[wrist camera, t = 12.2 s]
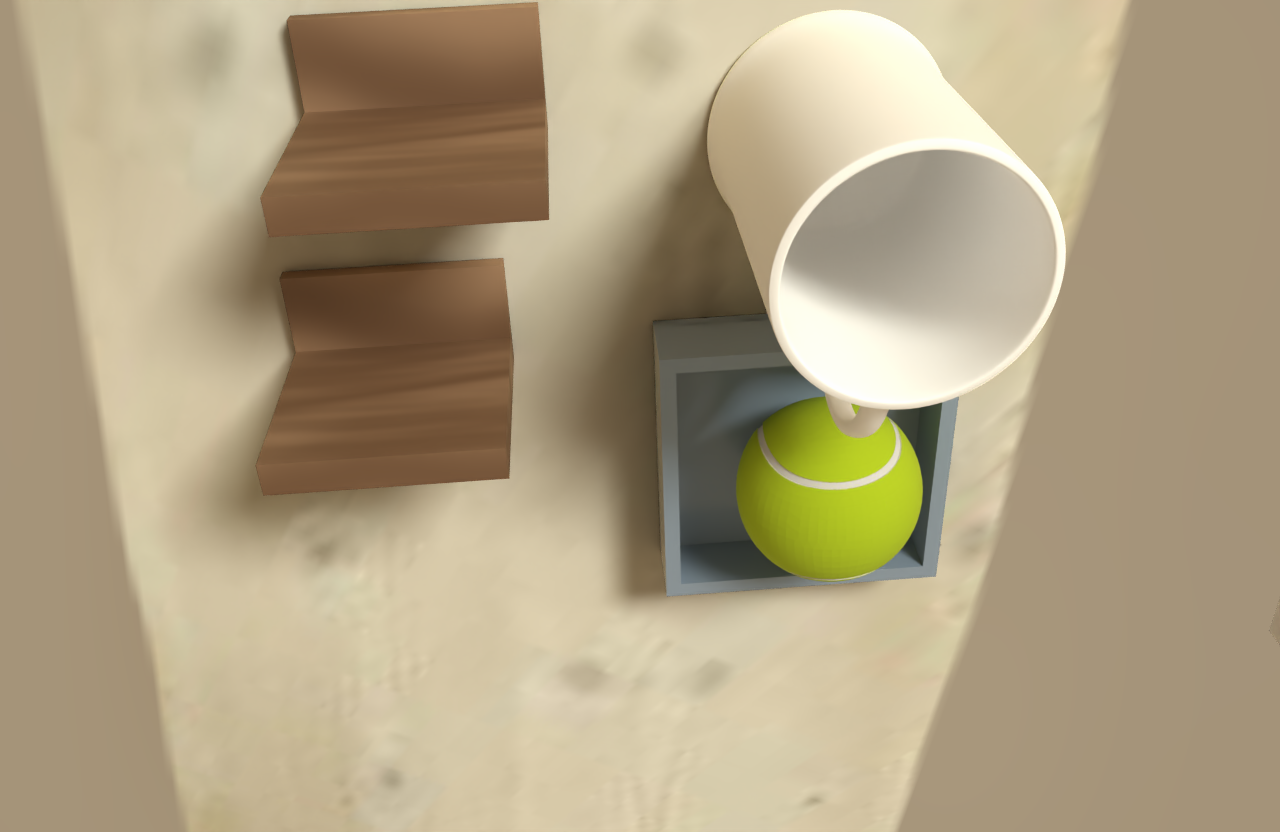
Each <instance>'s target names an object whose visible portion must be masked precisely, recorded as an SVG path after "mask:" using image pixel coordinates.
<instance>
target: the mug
mask: <svg viewBox="0 0 1280 832" xmlns="http://www.w3.org/2000/svg"><path fill="white" fill-rule="evenodd" d="M707 151H708V159H709V165H710V169H711V173H712V176H713V179H714V182H715V184H716V186H717V189H718V191H719V193H720V194H721V196H722V198H723V199H724V201H725V203H726V204H727V205H728V207H729V208H730V209H731V211H732V212H733V215H734V218H735V221H736V224H737V227H738V230H739V232H740V235H741V238H742V241H743V244H744V247H745V250H746V253H747V256H748V259H749V262H750V264H751V267H752V270H753V273H754V276H755V279H756V282H757V285H758V288H759V291H760V293H761V296H762V299H763V302H764V305H765V308H766V311H767V314H768V317H769V320H770V322H771V325H772V328H773V331H774V333H775V336H776V338H777V341H778V343H779V345H780V347H781V349H782V350H783V352H784V354H785V355H786V357H787V358H788V360H789V361H790V362H791V364H792V365H793V366H794V367H795V369H796V370H797V371H798V372H799V373H800V374H801V375H802V376H803V377H804V378H805V379H807V380H808V381H809V382H810V383H812V384H813V385H814V386H816V387H817V388H819V389H820V390H822V391H823V392H825V397H826V401H827V404H828V408H829V411H830V414H831V416H832V418H833V420H834V422H835V424H836V426H837V427H838V428H839V430H840V431H841V432H842V433H844V434H845V435H847V436H850V437H854V438H864V437H868V436H870V435H872V434H873V433H875V432H876V431H877V430H878V429H879V428H880V426H881V425H882V423H883V421H884V420H885V418H886V415H887V413H888V411H889V409H890V410H898V409H912V408H919V407H925V406H930V405H934V404H938V403H941V402H945V401H948V400H951V399H953V398H956V397H959V396H961V395H963V394H965V393H968V392H970V391H972V390H974V389H976V388H977V387H979V386H981V385H983V384H984V383H986V382H988V381H989V380H991V379H992V378H994V377H995V376H997V375H998V374H999V373H1001V372H1002V371H1003V370H1004V369H1006V368H1007V367H1008V366H1009V365H1010V364H1012V363H1013V362H1014V361H1015V360H1016V359H1017V358H1018V357H1019V356H1020V355H1021V354H1022V353H1023V352H1024V351H1025V350H1026V349H1027V347H1028V346H1029V345H1030V344H1031V343H1032V341H1033V340H1034V339H1035V337H1036V336H1037V335H1038V333H1039V332H1040V330H1041V329H1042V327H1043V326H1044V324H1045V322H1046V321H1047V319H1048V317H1049V315H1050V313H1051V311H1052V309H1053V307H1054V305H1055V302H1056V300H1057V297H1058V294H1059V291H1060V287H1061V284H1062V279H1063V274H1064V268H1065V253H1066V252H1065V237H1064V231H1063V226H1062V222H1061V219H1060V215H1059V213H1058V210H1057V208H1056V205H1055V203H1054V201H1053V199H1052V197H1051V196H1050V194H1049V192H1048V191H1047V189H1046V188H1045V186H1044V185H1043V184H1042V182H1041V181H1040V180H1039V179H1038V178H1037V176H1036V175H1035V174H1034V173H1033V172H1032V171H1031V170H1030V169H1029V168H1028V167H1027V165H1026V164H1025V163H1024V162H1023V161H1022V160H1021V159H1020V158H1019V157H1018V156H1017V155H1016V154H1015V153H1014V152H1013V151H1012V150H1011V149H1010V148H1009V147H1008V146H1007V144H1006V143H1005V142H1004V141H1003V140H1002V139H1001V138H1000V137H999V136H998V135H997V134H996V133H995V132H994V131H993V130H992V129H991V128H990V127H989V126H988V124H987V123H986V122H985V121H984V120H983V119H982V118H981V117H980V116H979V115H978V114H977V113H976V112H975V111H974V110H973V109H972V108H971V107H970V106H969V105H968V103H967V102H966V101H965V100H964V99H963V98H962V97H961V96H960V95H959V94H958V93H957V92H956V91H955V90H954V89H953V88H952V87H951V86H950V85H949V83H948V82H947V81H946V80H945V79H944V78H943V77H942V74H941V72H940V70H939V68H938V66H937V64H936V62H935V61H934V59H933V57H932V56H931V55H930V53H929V52H928V51H927V49H926V48H925V47H924V46H923V45H922V44H921V43H920V42H919V41H918V40H917V39H916V38H915V37H914V36H913V35H912V34H911V33H909V32H908V31H907V30H905V29H904V28H902V27H901V26H899V25H897V24H895V23H894V22H892V21H889V20H887V19H885V18H882V17H880V16H877V15H873V14H870V13H865V12H860V11H852V10H830V11H822V12H816V13H812V14H808V15H804V16H801V17H798V18H795V19H793V20H790V21H788V22H786V23H784V24H782V25H780V26H778V27H776V28H775V29H773V30H771V31H770V32H768V33H767V34H765V35H764V36H762V37H761V38H760V39H758V40H757V41H756V42H755V43H754V44H752V45H751V46H750V47H749V48H748V49H747V50H746V51H745V52H744V53H743V54H742V55H741V57H740V58H739V59H738V60H737V61H736V62H735V64H734V65H733V66H732V68H731V69H730V71H729V72H728V74H727V75H726V77H725V79H724V80H723V82H722V84H721V86H720V88H719V90H718V93H717V95H716V97H715V100H714V103H713V106H712V110H711V113H710V118H709V124H708V132H707ZM851 404H855V405H859V406H860V408H859V410H858V412H857V414H855V412H854V410H853V408H852V405H851Z"/></svg>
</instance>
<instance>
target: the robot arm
mask: <svg viewBox="0 0 1280 832" xmlns="http://www.w3.org/2000/svg"><path fill="white" fill-rule="evenodd" d="M1269 631H1270V633H1271V634H1272V635H1273V637H1274V638H1275V639H1276V640H1277V642H1278V643H1279V645H1280V600H1279V603H1278V605H1277V608H1276V611H1275V614H1274V617H1273V620H1272V623H1271V626H1270V629H1269Z"/></svg>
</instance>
